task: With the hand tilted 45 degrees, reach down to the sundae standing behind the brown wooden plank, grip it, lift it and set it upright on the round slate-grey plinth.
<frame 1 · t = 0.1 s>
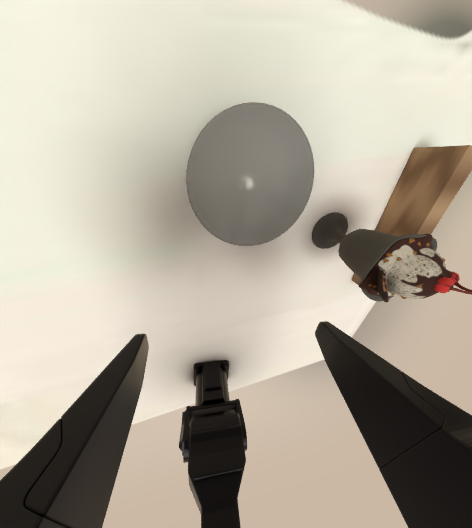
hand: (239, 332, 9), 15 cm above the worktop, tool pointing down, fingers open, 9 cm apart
sundae: (328, 230, 24), on the worktop
slate plinth: (246, 183, 20), on the worktop
brown wooden plank: (383, 225, 25), on the worktop
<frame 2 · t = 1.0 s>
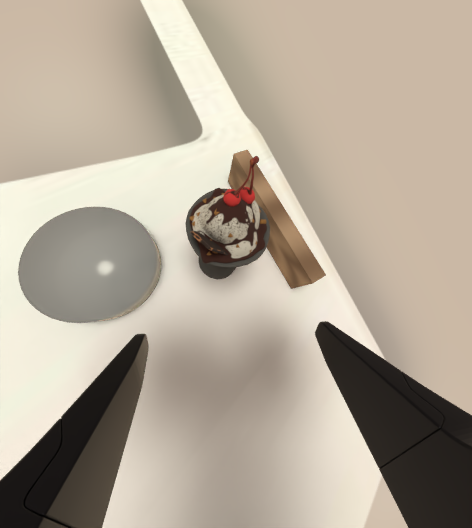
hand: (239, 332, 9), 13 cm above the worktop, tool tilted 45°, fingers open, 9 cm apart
sundae: (217, 260, 24), on the worktop
slate plinth: (106, 267, 21), on the worktop
brown wooden plank: (263, 229, 26), on the worktop
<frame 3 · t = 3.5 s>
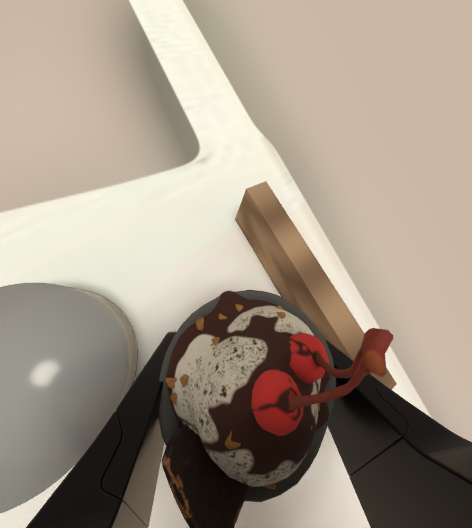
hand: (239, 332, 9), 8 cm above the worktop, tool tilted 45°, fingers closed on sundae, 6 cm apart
sundae: (222, 340, 16), on the worktop, touching gripper
slate plinth: (49, 369, 14), on the worktop
brown wooden plank: (286, 288, 19), on the worktop
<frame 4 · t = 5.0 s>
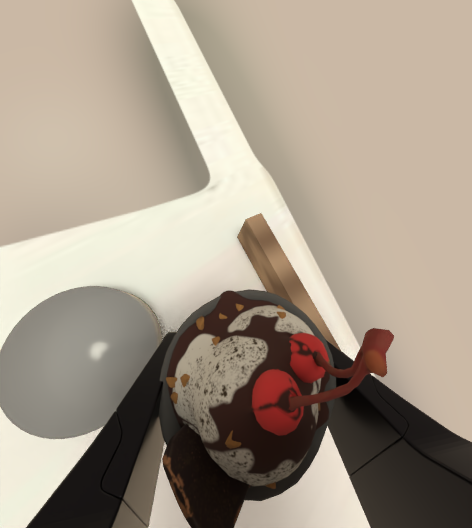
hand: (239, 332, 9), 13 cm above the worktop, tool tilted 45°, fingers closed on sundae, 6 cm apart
sundae: (223, 340, 16), point 5 cm above the worktop, touching gripper
slate plinth: (99, 348, 19), on the worktop
brown wooden plank: (276, 293, 24), on the worktop
when the fingers open (12 cm above the worktop, at t = 6.8 s): sundae drops 1 cm, resting on slate plinth.
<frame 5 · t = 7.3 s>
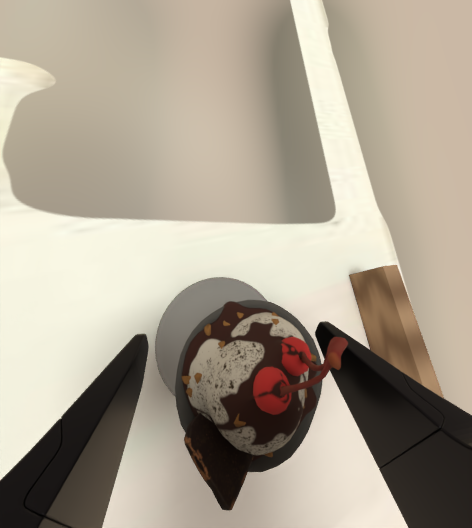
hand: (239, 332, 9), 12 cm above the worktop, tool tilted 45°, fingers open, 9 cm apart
sundae: (224, 340, 18), point 3 cm above the worktop, touching slate plinth
slate plinth: (218, 335, 20), on the worktop
brown wooden plank: (375, 342, 24), on the worktop
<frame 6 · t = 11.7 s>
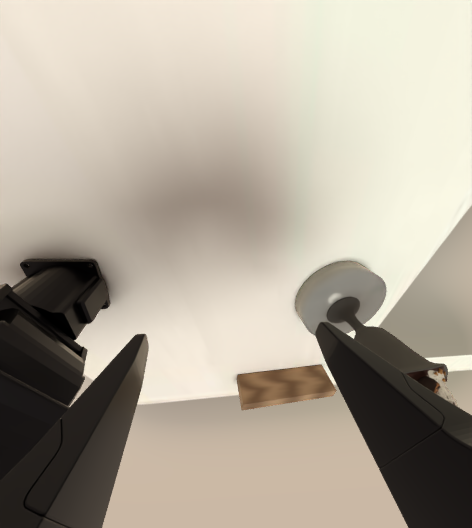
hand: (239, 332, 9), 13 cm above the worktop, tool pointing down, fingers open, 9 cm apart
sundae: (342, 309, 26), point 3 cm above the worktop, touching slate plinth
slate plinth: (332, 294, 28), on the worktop
brown wooden plank: (280, 372, 37), on the worktop
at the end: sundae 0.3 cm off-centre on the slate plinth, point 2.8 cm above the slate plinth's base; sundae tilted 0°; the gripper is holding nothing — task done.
